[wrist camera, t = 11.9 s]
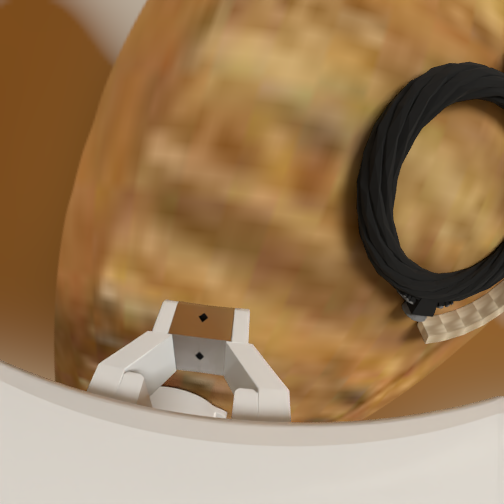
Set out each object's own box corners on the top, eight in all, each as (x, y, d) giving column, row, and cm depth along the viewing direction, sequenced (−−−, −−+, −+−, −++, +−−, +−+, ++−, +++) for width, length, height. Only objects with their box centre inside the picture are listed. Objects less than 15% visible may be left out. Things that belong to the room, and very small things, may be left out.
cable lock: (578, 139, 17) (485, 330, 33) (559, 130, 20) (474, 312, 36) (410, 7, 15) (312, 310, 31) (392, 14, 18) (308, 287, 34)
